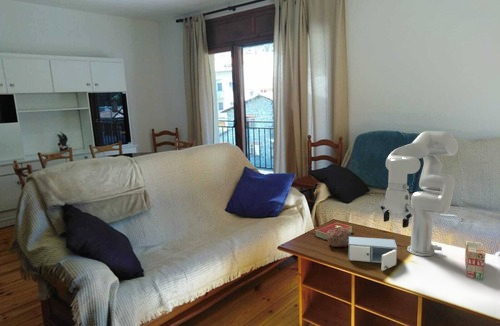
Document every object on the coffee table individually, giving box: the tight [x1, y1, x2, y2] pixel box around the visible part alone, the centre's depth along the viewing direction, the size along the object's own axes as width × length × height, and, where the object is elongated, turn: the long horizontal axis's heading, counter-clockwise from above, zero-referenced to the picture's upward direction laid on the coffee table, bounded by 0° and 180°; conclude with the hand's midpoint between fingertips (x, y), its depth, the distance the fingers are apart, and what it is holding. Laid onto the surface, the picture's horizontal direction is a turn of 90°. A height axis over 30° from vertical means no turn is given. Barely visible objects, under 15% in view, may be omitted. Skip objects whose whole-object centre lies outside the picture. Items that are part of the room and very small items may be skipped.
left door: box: [380, 247, 398, 272], centre depth 161 cm, size 11×2×8 cm, turn 125°
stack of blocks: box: [464, 240, 486, 281], centre depth 159 cm, size 21×6×12 cm, turn 151°
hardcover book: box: [313, 222, 353, 241], centre depth 207 cm, size 12×21×4 cm, turn 130°
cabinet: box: [348, 236, 398, 264], centre depth 172 cm, size 22×12×8 cm, turn 75°
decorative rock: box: [326, 228, 353, 248], centre depth 190 cm, size 13×11×10 cm
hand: (395, 224), depth 155 cm, fingers open, 9 cm apart
